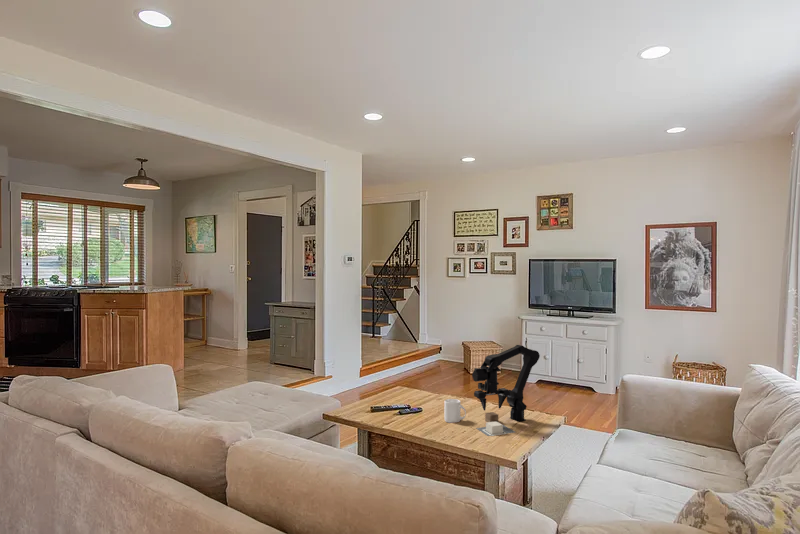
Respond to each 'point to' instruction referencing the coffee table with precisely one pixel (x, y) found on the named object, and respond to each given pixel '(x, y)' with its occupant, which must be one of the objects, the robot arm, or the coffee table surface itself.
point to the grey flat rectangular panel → (505, 431)
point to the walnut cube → (491, 417)
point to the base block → (494, 427)
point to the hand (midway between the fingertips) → (492, 409)
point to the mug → (453, 410)
